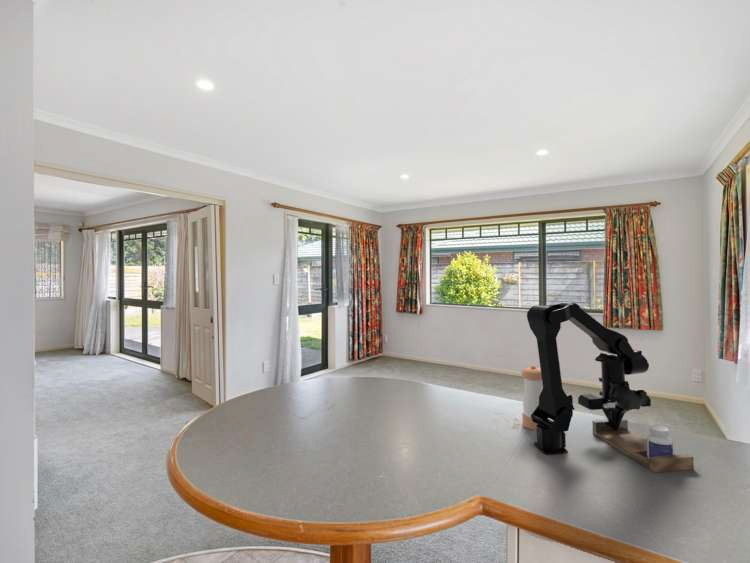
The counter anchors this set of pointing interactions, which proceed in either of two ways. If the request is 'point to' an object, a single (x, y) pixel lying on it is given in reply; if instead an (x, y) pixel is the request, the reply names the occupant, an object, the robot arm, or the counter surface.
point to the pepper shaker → (531, 394)
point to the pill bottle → (659, 442)
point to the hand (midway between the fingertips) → (615, 429)
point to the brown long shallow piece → (639, 447)
